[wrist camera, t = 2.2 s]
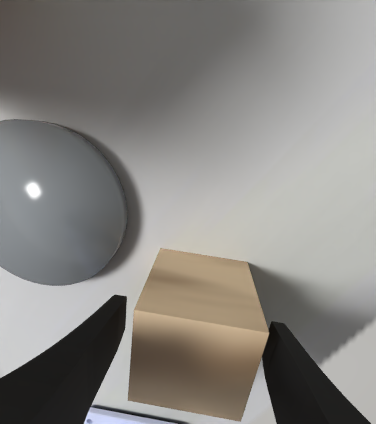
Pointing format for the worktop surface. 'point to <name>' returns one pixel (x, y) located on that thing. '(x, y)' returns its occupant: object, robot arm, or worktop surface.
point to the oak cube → (197, 335)
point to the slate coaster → (56, 204)
